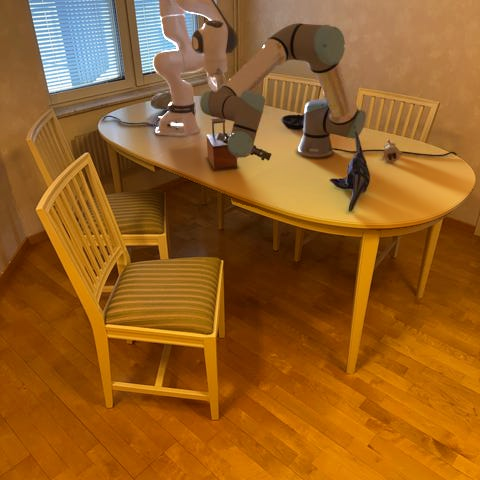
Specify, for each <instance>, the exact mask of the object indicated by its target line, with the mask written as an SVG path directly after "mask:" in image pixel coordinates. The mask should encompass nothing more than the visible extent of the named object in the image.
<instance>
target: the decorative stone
mask: <svg viewBox="0 0 480 480" xmlns="http://www.w3.org/2000/svg"><path fill="white" fill-rule="evenodd" d="M170 102H172V98H171V92H170V90H169V91H168V90H164V91H160V92H158V93H157V94H155V95H154V96H152V98H151V100H150V106H151V107H152V108H153V109H155V110H161V111H162V110H164V111H165V110H169V109H168V105H169V103H170Z"/></svg>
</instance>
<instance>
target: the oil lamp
mask: <svg viewBox="0 0 480 480" xmlns="http://www.w3.org/2000/svg"><path fill="white" fill-rule="evenodd" d="M280 121H281V123H282V124H283V126H285V128H287V129H289V130H292V131H301V130H303V129H304V113H302V114H287V115H284V116H282V117H281V118H280Z"/></svg>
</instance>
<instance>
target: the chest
mask: <svg viewBox="0 0 480 480" xmlns="http://www.w3.org/2000/svg"><path fill="white" fill-rule="evenodd" d="M206 151H207V152H206V153H207V160H208V162H209V164H210V166H211V167H212V169H213V171H215V172H216V171H226V170H234V169H238V158H236V156H233V155H232V154H231V153H230V151H229V150H228V148H220V149H213V148H212V146H211V144H210V143H209V141H208V139H207V138H206Z"/></svg>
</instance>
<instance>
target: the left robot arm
mask: <svg viewBox="0 0 480 480" xmlns="http://www.w3.org/2000/svg"><path fill="white" fill-rule="evenodd" d="M158 5H159V7H158V8H159V17H160V22H161V30H162V34H163V36H164V38H165V39H166V40H168V41H169V42H171V43H173V44H174V45H175V46H176V49H170V50H163V51H160V52H157V53H156V54H155V55H154V56H153V60H152V67H153V70H154V71H155V73H156V74H158V75H159V76H161V77H162V78H163V79H164V80H165V81H166V83H167V85H168V87H169V91H170V92H171V98H172V102H170V103H169V105H168V109H167V110H168V111H167V112H165V113H164V115H161V116H157V119H156V123H155V124H152V123H150V122H146V121H140V122H128V121H123V120H121V119H120V118H119V117H117V116H113V115H109V114H108V115H105V116H103V119H104V120H105V119H106V118H112V119H115V120H118V121H119V122H120V123H121V124H126V125H149V126H151V127H155V129H154V133H155V135H158V136H168V137H169V136H171V137H180V138H181V137H182V138H183V137H186V136H189V135H193V134H196V133H199V131H200V127H199V124H198V121H197V115H196V114H197V108H196V102H195V95H194V87H193V85H192V84H191V83H190V82H188V81H186V80H183V79H182V75H185V74H193V73H194V74H195V73H197V72H200V71H202V70H203V69H204V72H205V73H206V79H207V84H208V87H209V88H210V89H211V91H214V92H216V91H217V90H218V89H219V88H221V86H223V85H224V84H225V83H226V82H227V78H226V75H225V73H227V72H228V55H227V54H232V53H233V52H234V50H235V49H237V46H238V44H239V38H238V34H237V32H236V30H235V29H234V28H233V26H231V25H230V23H229V22H228V21H227V18H226V17H225V15H224V14H223V12H222V11H221V9H220V8H219V6H218V5H217V3H216V1H215V0H158ZM185 12H186V13H189V14H195V15H200V16H203V17H205V18H207V19H208V20H206V21H205V22H204V23H203V26H202V27H201V28H198V29H196V30H195V31H194V32H193V34H192V35H191V37H190V35H189V32H188V28H187V23H186V16H185Z"/></svg>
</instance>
